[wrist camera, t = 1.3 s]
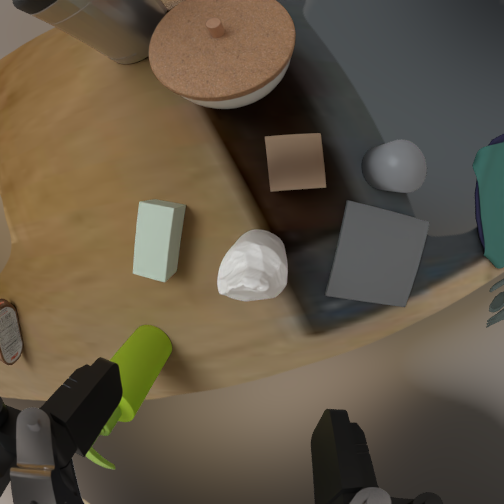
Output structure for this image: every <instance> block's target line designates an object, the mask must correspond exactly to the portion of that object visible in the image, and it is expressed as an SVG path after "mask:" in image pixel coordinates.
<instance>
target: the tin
mask: <svg viewBox="0 0 504 504" xmlns="http://www.w3.org/2000/svg"><path fill="white" fill-rule="evenodd" d="M22 349H23V341H22V336H21V331H20V326H19V321H18V315H17V311H16V309H15V307H14V306H13V305H12V304H11V303H9V302H8V301H7V300H5V299H0V360H1V361H2V362H3V363H5V364H7V365H12V364H14V363H15V362H16V361H17V360H18V359H19V357H20V356H21V353H22Z"/></svg>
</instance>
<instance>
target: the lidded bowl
mask: <svg viewBox="0 0 504 504" xmlns="http://www.w3.org/2000/svg"><path fill="white" fill-rule="evenodd" d="M295 35H296V33H295V27H294V23H293V21H292V18H291V16H290V15H289V13H288V12H287V10H286V9H285V8H284V7H283V6H282V5H281V4H280V3H278V2H277V1H276V0H184V1H182V2H181V3H179V4H178V5H176V6H175V7H174V8H173V9H171V10H170V11H169V12H168V13H167V14H166V15H165V16H164V17H163V19H162V20H161V21H160V22H159V24H158V25H157V27H156V29H155V31H154V33H153V35H152V37H151V41H150V45H149V62H150V65H151V68H152V71H153V72H154V74H155V76H156V77H157V79H158V80H159V81H160V82H161V83H162V84H163V85H164V86H166V87H167V88H169V89H170V90H171V91H173V92H174V93H177V94H179V95H180V96H182V97H183V98H185V99H187V100H189V101H191V102H193V103H195V104H198V105H201V106H204V107H209V108H216V109H232V108H239V107H243V106H246V105H249V104H252V103H254V102H256V101H258V100H260V99H262V98H263V97H265V96H266V95H267V94H269V93H270V92H271V91H272V90H273V89H274V88H275V87H276V86H277V85H278V84H279V82H280V81H281V80H282V78H283V76H284V74H285V72H286V70H287V68H288V66H289V63H290V59H291V56H292V53H293V50H294V46H295Z"/></svg>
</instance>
